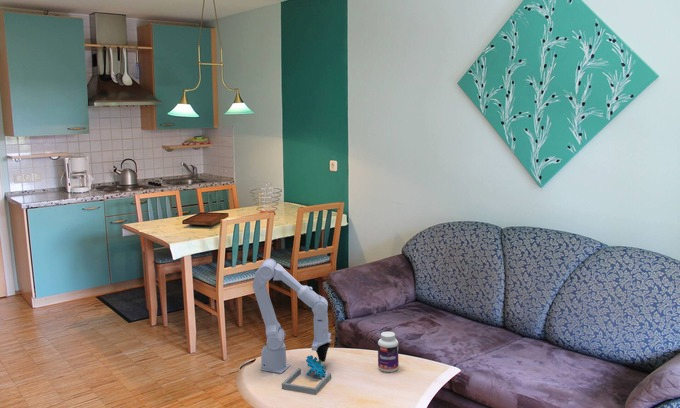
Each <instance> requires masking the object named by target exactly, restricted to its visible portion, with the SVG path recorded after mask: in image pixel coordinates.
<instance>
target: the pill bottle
mask: <svg viewBox="0 0 680 408" xmlns="http://www.w3.org/2000/svg"><path fill="white" fill-rule="evenodd" d="M399 365H400V364H399V340H398V339H397V338H396V333H395V332H393V331H383V332H381V334H380V338H379V340H378V341H377V367H378V369H379V370H380V371H381V372H384V373H393V372H396V371H397V370H398V369H399Z"/></svg>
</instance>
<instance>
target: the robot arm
mask: <svg viewBox="0 0 680 408" xmlns="http://www.w3.org/2000/svg"><path fill="white" fill-rule="evenodd" d="M271 279H273V280H272V281H282V283H284V284H286V286H288V287H290V288H291V289H292V290H293V291H295V292H296V295H297V298H298V299H299V300H301V302H303V303H304V304H306V305H307V307H309V308H311V311H312V313H313V341H312V344H311V351H313V352H314V351H315V352H316V354H317V359H318V361H319V360H321V363H324V362H325V361H326V360H327V359H326V358H327V355H328V349H329V347H330V346H331V343H332V339H331V338H332V333H331V332H329V316H328V314H329V313H328V308H329V303H328V300H327V298H325V297H324V296H321V295H320V294H318V293H316V292H315V291H314V290H313V287H312V286H308V285H303V284H301V283H300V282H299V280H297V279H296V278H294V276H292V274H290V273H289V272H288V271H287V270H286V269H285V268H284V267H283V266H282V264H280V263H279V262H276V260H274V258H266V259H264V260H263V262H261V264H260V265H259V267H258V268H257V270H256V271H255V274H254V279H253V282H252V289H253V292H254V296H255V299H256V301H257V305H258V308H259V310H260V313H261V317H262V320H263V322H264V327H265V336H266V343H265V344H266V345H263V347H262V348H261V353H260V355H261V356H260V359H261V360H260V361H261V368H260V370H261V371H265V372H272V373H277V374H283V373H284V372H285V371H286V370H287V369H289V367H291V364H290V363H287V352H286V351H287V349H286V344H285V342H284V340H285V339H286V331H285V330H284V329H283V328H282V327H281V324H280V322H279V321H278V319H277V316H276V313H275V308H274V306H273V303H272V301H271V298H270V293H269V291H268V287H267V284H268V282H269V281H270V280H271Z"/></svg>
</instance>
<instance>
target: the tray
mask: <svg viewBox="0 0 680 408" xmlns="http://www.w3.org/2000/svg"><path fill="white" fill-rule="evenodd" d="M301 374H302V369H301V367H299V368H297V369H295V371H294V372H293V373H292V374H291V375H289V376H288V377H287V378H285V380H284V381H283V382H281V389H282V390H287V391H293V392H298V393H305V394H309V395H310V394H311V395H315V396H316V395H317V394H318V393H319V392H320V391H321V390H322V389H323V388H324V387H325V386H326V385H327V384H328V383H329V381H331V379H332V373H330V372H328V373H327V374H326V375H325V376H324V377H323V378H322V380H321V381H319V382H318V384H316V386H315V387H311V386H307V385H306V386H305V385H299V384H294V383H292V382H294V381H295V379H297V378H298V377H299V376H300V375H301Z"/></svg>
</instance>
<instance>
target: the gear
mask: <svg viewBox="0 0 680 408" xmlns="http://www.w3.org/2000/svg"><path fill="white" fill-rule="evenodd" d="M305 361H306V363H307V366H306V367H308V368H309V367H310V369H309V370H308V372H306V375H307V376H310V374H311V373H312V372H314V375H315V376H317V377H319V378H324V377H325V376H326V375H327V374H326V373H327V371H326V370H325V368H326V367H325V365H322V364H323V362H321V360H319V359H318V357H316V356H315V357H314V356H313V355H311V354H310V355H307V356H306V359H305Z"/></svg>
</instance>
